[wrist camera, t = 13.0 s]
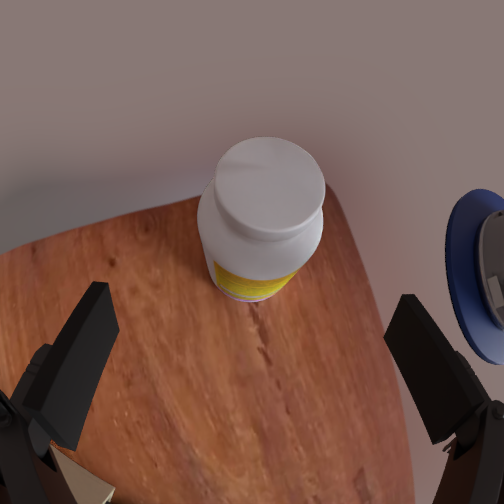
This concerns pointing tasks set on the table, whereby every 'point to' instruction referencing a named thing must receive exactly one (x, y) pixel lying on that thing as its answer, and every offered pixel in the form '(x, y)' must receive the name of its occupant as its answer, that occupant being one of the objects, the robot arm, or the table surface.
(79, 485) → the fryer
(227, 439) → the table surface
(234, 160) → the supplement bottle
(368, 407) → the table surface
